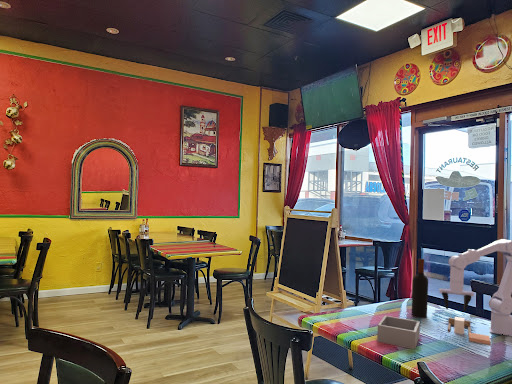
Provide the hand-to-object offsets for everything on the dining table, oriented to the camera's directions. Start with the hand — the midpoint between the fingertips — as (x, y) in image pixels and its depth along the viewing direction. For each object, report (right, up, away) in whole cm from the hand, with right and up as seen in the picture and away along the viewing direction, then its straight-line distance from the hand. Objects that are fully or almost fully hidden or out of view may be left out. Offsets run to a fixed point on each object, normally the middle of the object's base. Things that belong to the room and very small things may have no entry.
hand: (455, 309), depth 189 cm
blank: (0, -10, -3) cm, 10 cm away
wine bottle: (-9, -10, +21) cm, 25 cm away
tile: (+4, -9, -13) cm, 17 cm away
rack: (+2, -10, +1) cm, 10 cm away
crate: (-34, -8, -18) cm, 39 cm away
